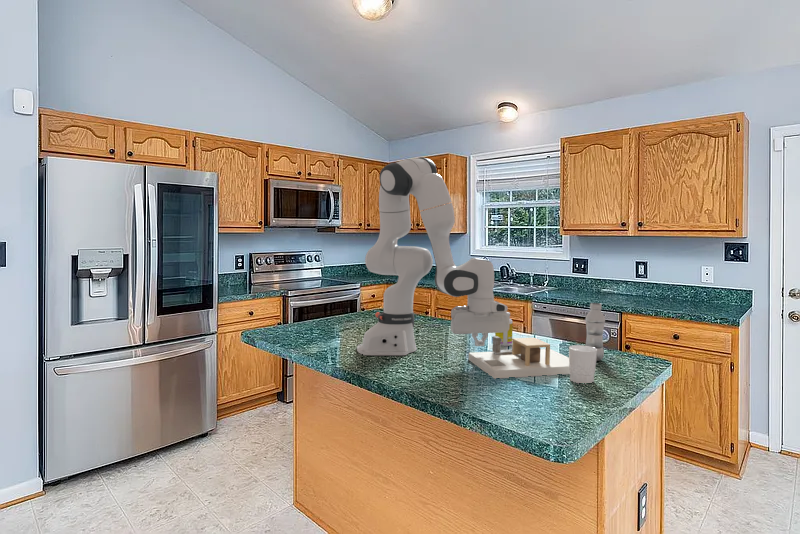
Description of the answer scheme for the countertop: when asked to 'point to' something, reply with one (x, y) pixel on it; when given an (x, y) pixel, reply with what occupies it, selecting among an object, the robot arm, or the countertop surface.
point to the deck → (516, 366)
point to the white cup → (582, 363)
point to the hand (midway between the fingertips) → (479, 345)
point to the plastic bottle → (595, 329)
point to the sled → (533, 354)
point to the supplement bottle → (506, 335)
